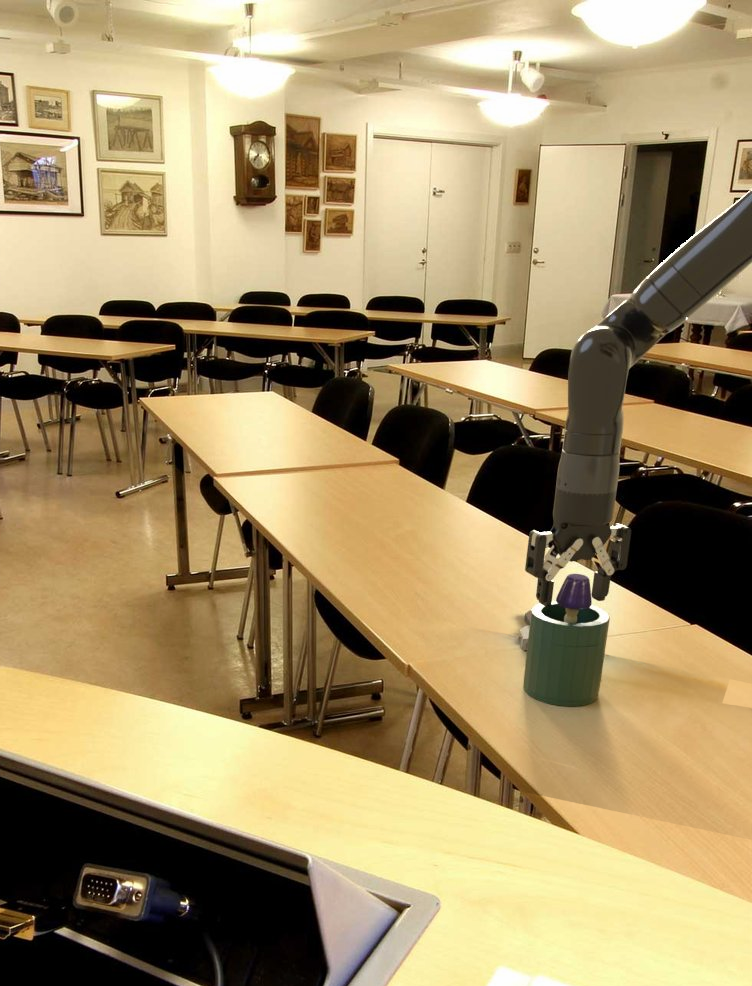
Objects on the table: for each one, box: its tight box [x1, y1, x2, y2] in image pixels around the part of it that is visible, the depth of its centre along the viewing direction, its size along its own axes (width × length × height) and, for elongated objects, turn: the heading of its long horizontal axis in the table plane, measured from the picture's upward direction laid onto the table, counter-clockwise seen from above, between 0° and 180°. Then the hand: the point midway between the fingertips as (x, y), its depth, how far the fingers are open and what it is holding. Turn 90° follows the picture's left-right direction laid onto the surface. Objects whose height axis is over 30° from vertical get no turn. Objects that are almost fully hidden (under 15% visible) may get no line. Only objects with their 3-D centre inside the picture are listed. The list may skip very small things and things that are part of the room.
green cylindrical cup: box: [522, 600, 611, 707], centre depth 129 cm, size 10×10×12 cm
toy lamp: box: [555, 573, 593, 623], centre depth 128 cm, size 5×5×17 cm
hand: (571, 601), depth 126 cm, fingers open, 7 cm apart
